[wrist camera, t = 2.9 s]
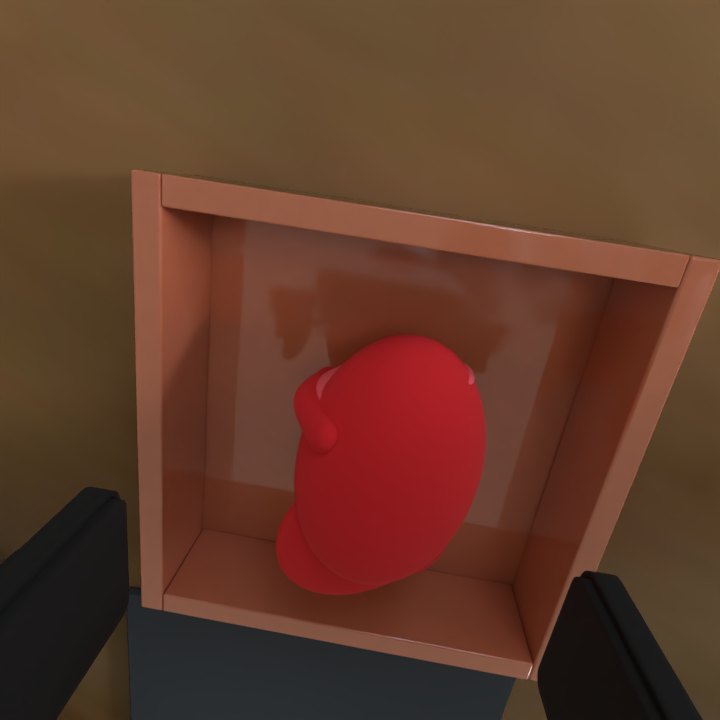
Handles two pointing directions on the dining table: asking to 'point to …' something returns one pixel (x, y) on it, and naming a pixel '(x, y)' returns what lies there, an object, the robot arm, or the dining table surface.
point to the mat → (288, 676)
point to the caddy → (342, 340)
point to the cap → (381, 465)
